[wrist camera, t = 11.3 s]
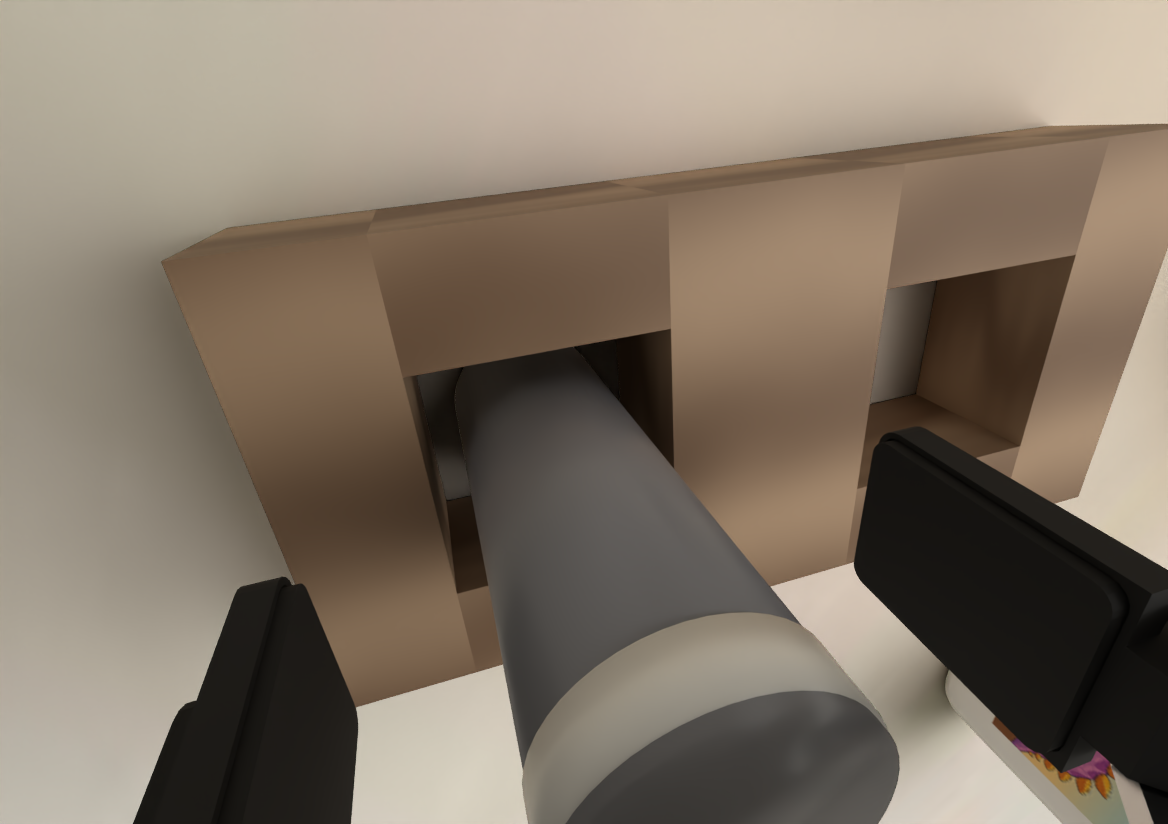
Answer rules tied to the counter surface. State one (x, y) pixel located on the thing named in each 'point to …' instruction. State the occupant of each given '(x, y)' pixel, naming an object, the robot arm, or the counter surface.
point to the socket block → (673, 350)
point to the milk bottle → (1044, 767)
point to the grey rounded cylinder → (646, 627)
